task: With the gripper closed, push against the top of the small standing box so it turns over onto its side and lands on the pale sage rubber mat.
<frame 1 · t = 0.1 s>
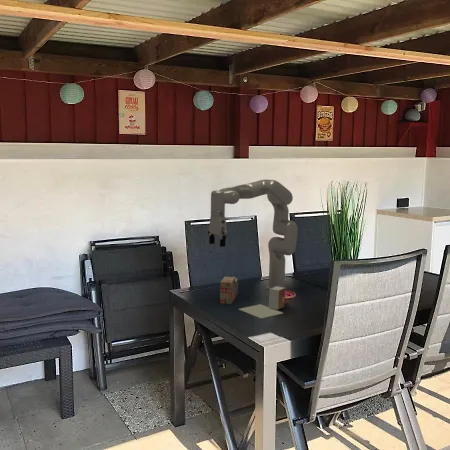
hand: (217, 245, 272), 31 cm above the table, tool pointing down, fingers open, 9 cm apart
stack of blocks: (229, 298, 282), on the table
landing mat: (260, 311, 259), on the table
small box: (276, 307, 265), on the table, touching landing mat
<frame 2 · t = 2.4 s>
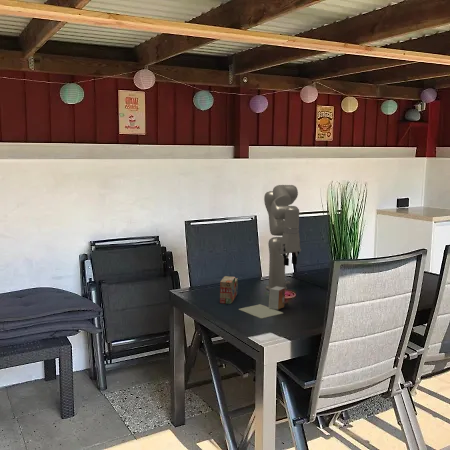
hand: (290, 264, 268), 22 cm above the table, tool pointing down, fingers open, 5 cm apart
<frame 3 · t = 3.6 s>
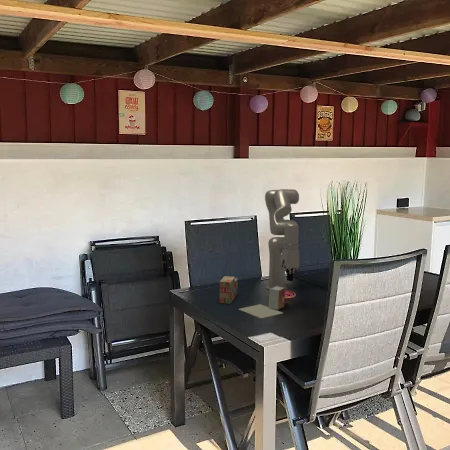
hand: (289, 280, 268), 14 cm above the table, tool pointing down, fingers closed
nothing on the table moved.
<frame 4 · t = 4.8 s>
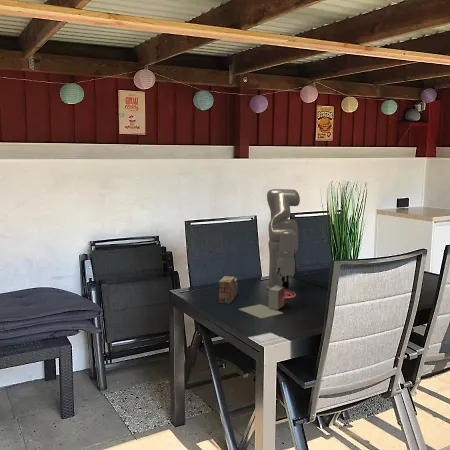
hand: (285, 288, 267), 10 cm above the table, tool pointing down, fingers closed
small box: (276, 307, 265), on the table, touching gripper, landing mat
everything else where it was.
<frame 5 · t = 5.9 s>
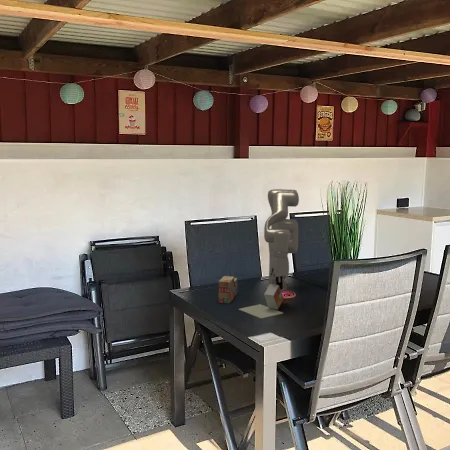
hand: (279, 289, 264), 10 cm above the table, tool pointing down, fingers closed
small box: (276, 303, 265), point 2 cm above the table, touching gripper, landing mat
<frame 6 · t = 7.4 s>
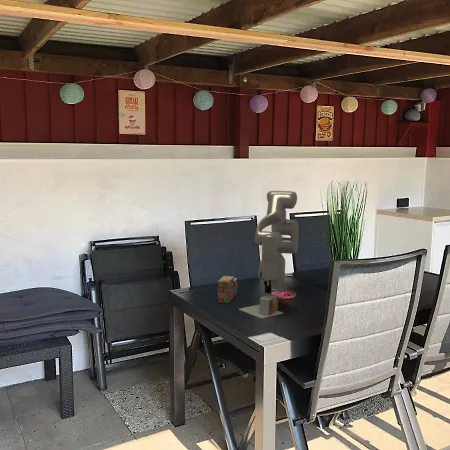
hand: (268, 292, 260), 9 cm above the table, tool pointing down, fingers closed
small box: (273, 301, 262), point 4 cm above the table, touching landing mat
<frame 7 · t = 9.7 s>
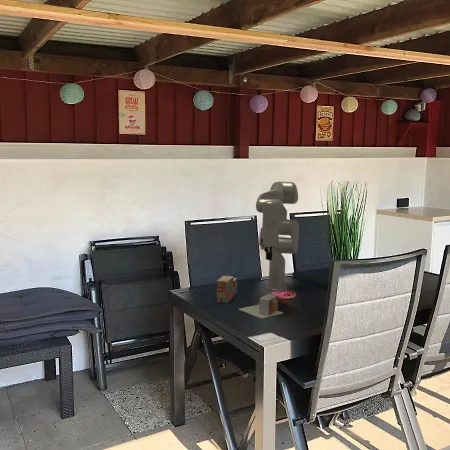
hand: (268, 259, 262), 26 cm above the table, tool pointing down, fingers closed
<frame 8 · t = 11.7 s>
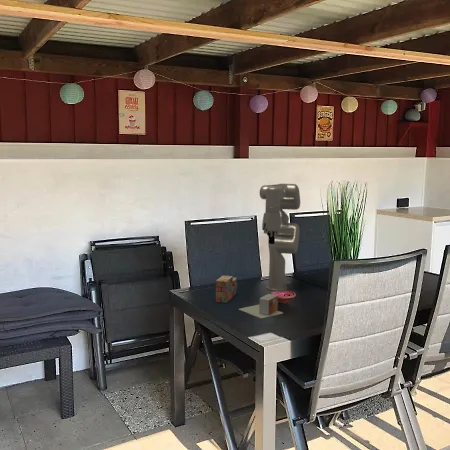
hand: (271, 243, 274), 32 cm above the table, tool pointing down, fingers closed
at the end: small box tilted 91°; small box inside the target area (5.6 cm from its centre), point 4.4 cm above the table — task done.
